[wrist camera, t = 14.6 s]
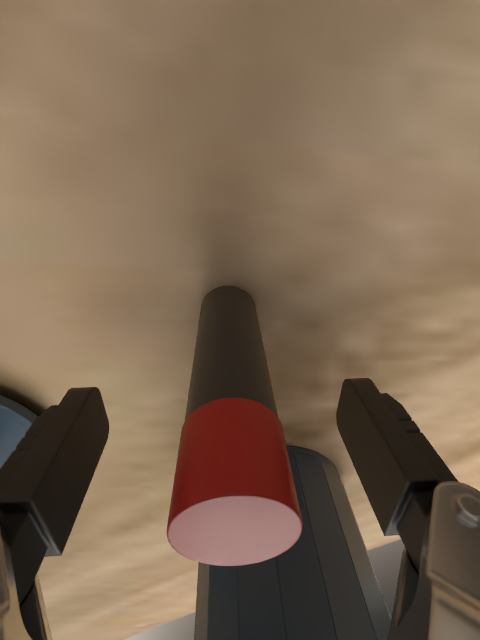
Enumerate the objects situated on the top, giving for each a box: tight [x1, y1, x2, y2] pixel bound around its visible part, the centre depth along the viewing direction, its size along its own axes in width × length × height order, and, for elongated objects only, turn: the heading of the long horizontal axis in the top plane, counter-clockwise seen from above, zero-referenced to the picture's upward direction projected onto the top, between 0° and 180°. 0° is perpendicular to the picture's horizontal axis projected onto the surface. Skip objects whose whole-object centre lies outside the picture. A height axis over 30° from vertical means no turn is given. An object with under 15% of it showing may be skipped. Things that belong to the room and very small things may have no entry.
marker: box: [167, 286, 303, 566], centre depth 11 cm, size 3×3×10 cm
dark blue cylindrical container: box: [194, 446, 392, 640], centre depth 18 cm, size 11×11×12 cm
